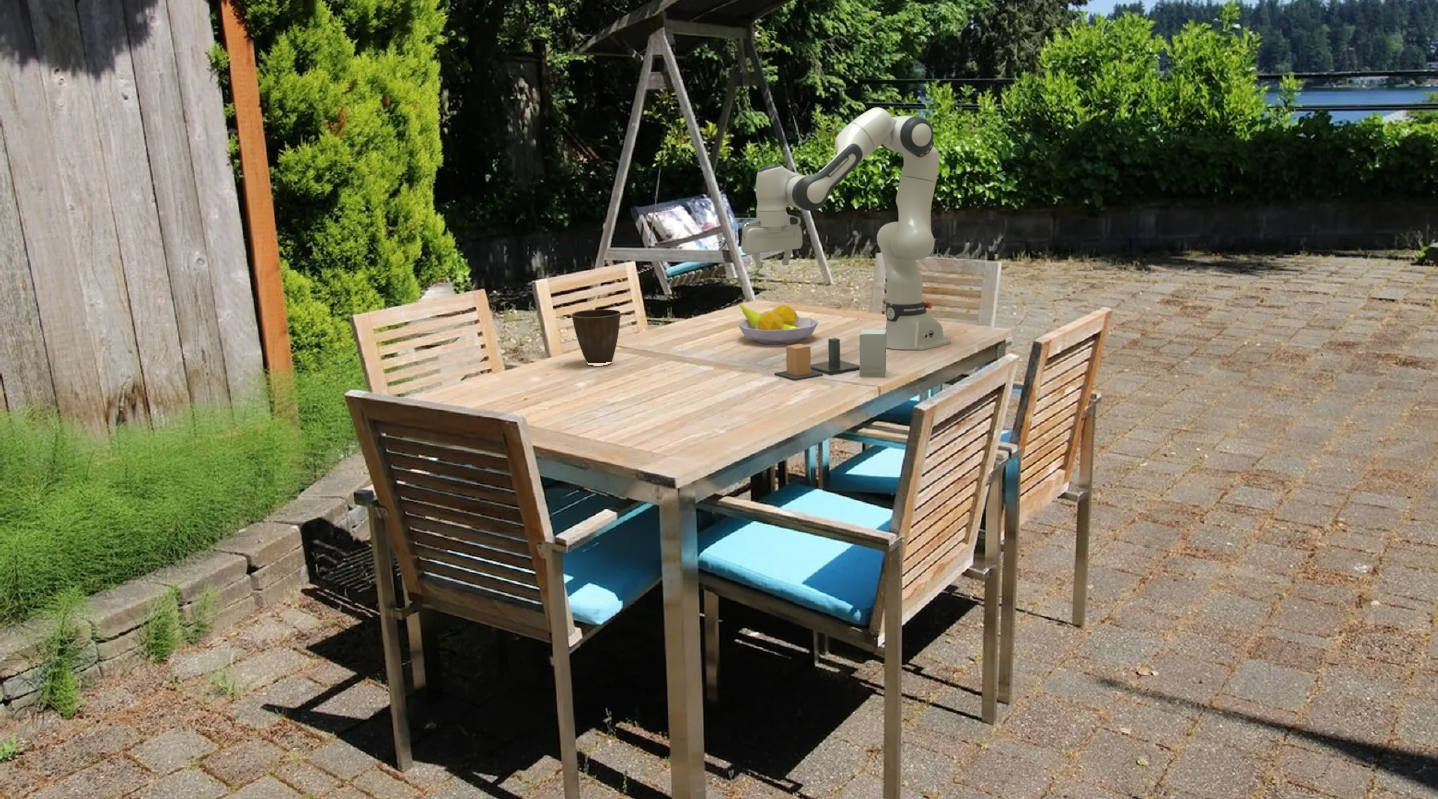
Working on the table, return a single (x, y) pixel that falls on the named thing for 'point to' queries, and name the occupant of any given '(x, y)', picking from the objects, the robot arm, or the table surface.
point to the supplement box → (872, 353)
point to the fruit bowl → (776, 325)
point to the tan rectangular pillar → (798, 359)
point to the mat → (793, 377)
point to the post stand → (834, 361)
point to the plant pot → (597, 334)
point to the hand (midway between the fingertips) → (772, 266)
